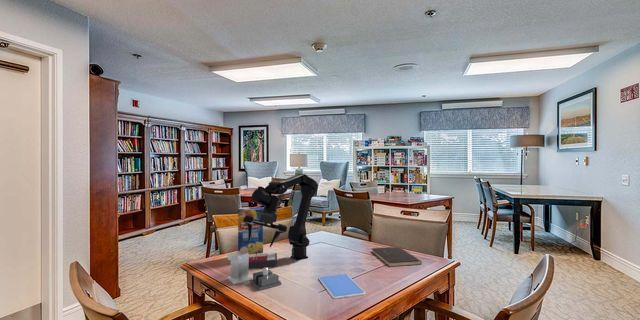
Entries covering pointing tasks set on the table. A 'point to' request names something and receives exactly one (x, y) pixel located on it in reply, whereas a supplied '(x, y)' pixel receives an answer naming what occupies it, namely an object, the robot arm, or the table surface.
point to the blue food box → (257, 232)
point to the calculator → (262, 260)
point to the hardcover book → (395, 256)
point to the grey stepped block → (239, 265)
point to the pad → (238, 281)
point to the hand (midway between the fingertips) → (259, 244)
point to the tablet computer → (341, 286)
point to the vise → (265, 279)
